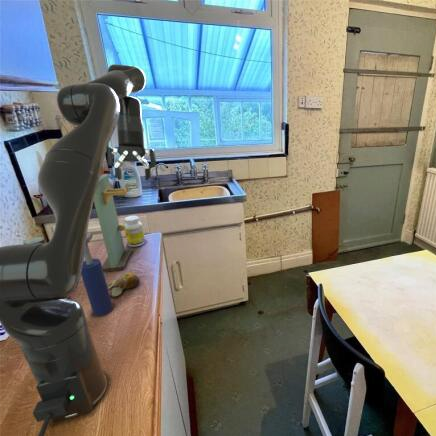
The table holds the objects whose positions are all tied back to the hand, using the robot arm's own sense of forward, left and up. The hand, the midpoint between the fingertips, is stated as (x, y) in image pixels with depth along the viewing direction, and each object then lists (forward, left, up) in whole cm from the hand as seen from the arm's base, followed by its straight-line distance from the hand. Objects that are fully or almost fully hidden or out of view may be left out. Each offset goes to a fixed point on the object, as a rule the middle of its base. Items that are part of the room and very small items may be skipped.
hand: (133, 179), depth 98 cm
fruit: (-22, +5, -28) cm, 36 cm away
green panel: (-6, +7, -28) cm, 29 cm away
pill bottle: (+7, +4, -28) cm, 29 cm away
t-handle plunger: (-32, +8, -28) cm, 43 cm away
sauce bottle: (-25, +21, -28) cm, 43 cm away
